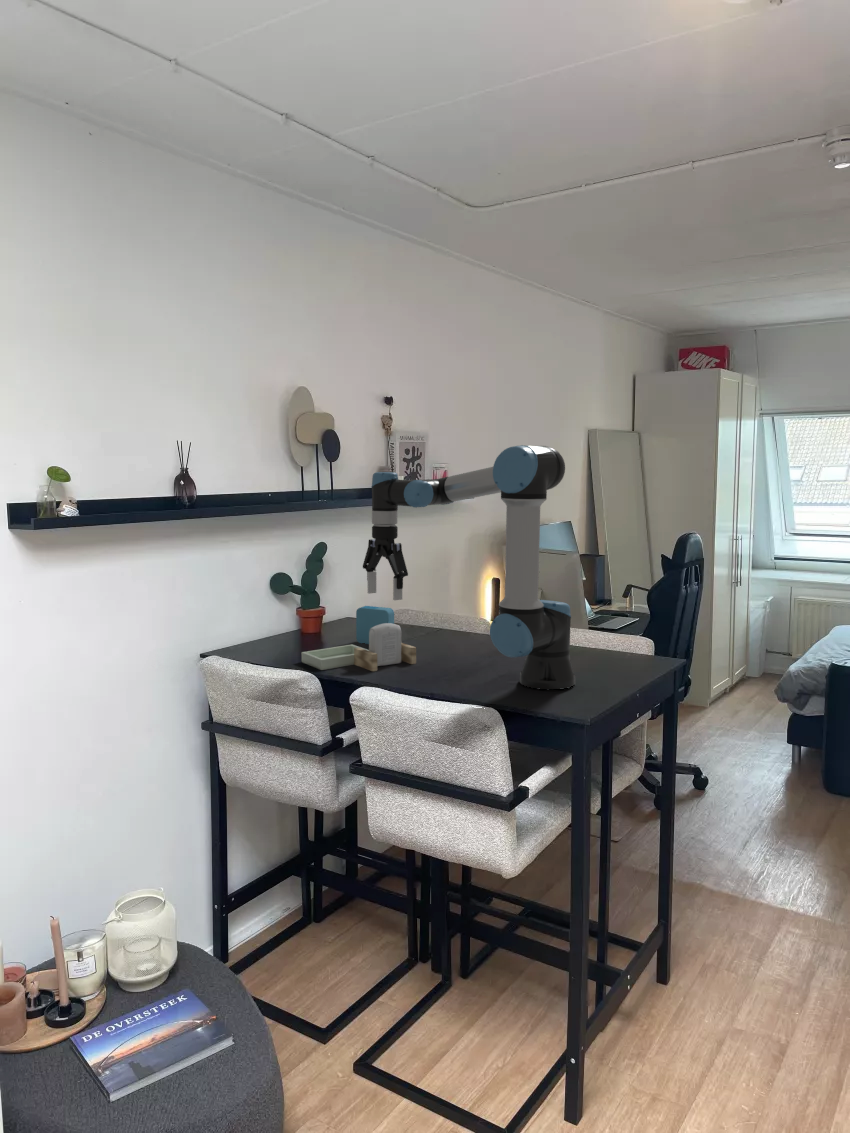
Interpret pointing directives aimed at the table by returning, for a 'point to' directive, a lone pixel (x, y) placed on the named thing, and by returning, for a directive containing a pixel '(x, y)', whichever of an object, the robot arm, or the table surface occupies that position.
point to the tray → (330, 657)
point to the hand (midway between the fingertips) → (384, 596)
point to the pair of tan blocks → (370, 658)
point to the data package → (371, 620)
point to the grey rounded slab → (386, 643)
